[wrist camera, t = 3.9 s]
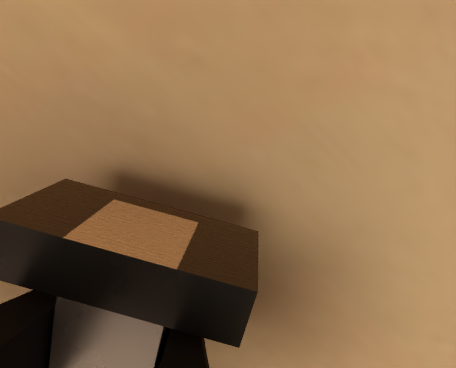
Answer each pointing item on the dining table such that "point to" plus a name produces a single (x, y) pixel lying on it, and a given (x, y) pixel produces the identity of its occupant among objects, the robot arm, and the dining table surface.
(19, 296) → the robot arm
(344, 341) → the dining table surface
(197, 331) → the shaft
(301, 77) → the dining table surface
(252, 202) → the dining table surface
